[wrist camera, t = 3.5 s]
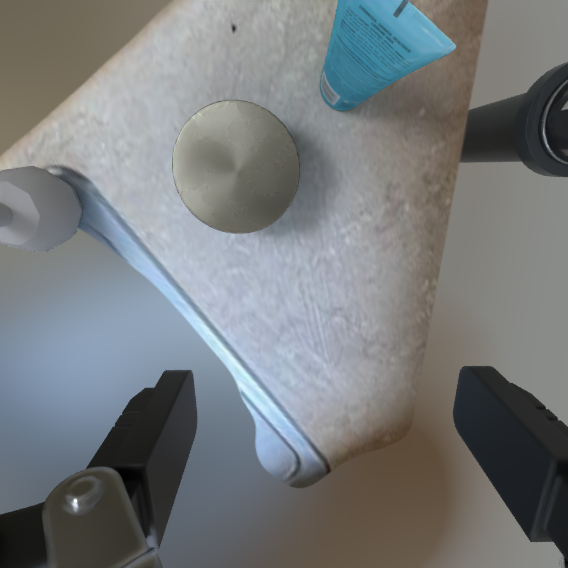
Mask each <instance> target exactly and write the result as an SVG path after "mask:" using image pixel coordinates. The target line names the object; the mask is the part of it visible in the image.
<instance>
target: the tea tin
mask: <svg viewBox="0 0 568 568" xmlns="http://www.w3.org/2000/svg"><path fill="white" fill-rule="evenodd" d="M172 169H173V177H174V181H175V185H176V188H177V191H178V193H179V195H180V197H181V199H182V201H183V202H184V204H185V205H186V207H187V208H188V209H189V210H190V211H191V213H192V214H193V215H194V216H196V217H197V218H198V219H199V220H200V221H202V222H203V223H205V224H206V225H208V226H210V227H212V228H214V229H216V230H219V231H223V232H227V233H234V234H244V233H251V232H255V231H258V230H261V229H263V228H265V227H267V226H269V225H270V224H272V223H274V222H275V221H276V220H277V219H279V218H280V217H281V216H282V214H283V213H284V212H285V211H286V210H287V208H288V207H289V206H290V204H291V202H292V200H293V198H294V196H295V193H296V191H297V187H298V183H299V175H300V164H299V157H298V153H297V149H296V146H295V143H294V141H293V139H292V137H291V135H290V133H289V131H288V130H287V129H286V127H285V126H284V124H283V123H282V122H281V121H280V120H279V119H278V118H277V117H276V116H275V115H273V114H272V113H271V112H270V111H268V110H266V109H265V108H263V107H261V106H259V105H256V104H254V103H251V102H247V101H241V100H225V101H219V102H216V103H213V104H210V105H208V106H206V107H204V108H202V109H201V110H199V111H198V112H197V113H195V114H194V115H193V116H192V117H191V118H190V119H189V120H188V121H187V123H186V124H185V125H184V127H183V128H182V130H181V132H180V133H179V136H178V138H177V140H176V143H175V147H174V151H173V158H172Z"/></svg>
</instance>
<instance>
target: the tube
mask: <svg viewBox="0 0 568 568" xmlns="http://www.w3.org/2000/svg"><path fill="white" fill-rule="evenodd" d="M455 48H456V45H455V44H454V42H453V41H452V40H450V39H449V38H448V37H447V36H446V35H445V34H444V33H443V32H442V31H441V30H440V29H439V28H438V27H437V26H436V25H435V24H434V23H433V22H432V21H430V20H429V19H428V18H427V17H426V16H425V15H424V14H423V13H422V12H421V11H419V10H418V9H417V8H416V7H415V6H414V5H413V4H412V3H410V2H409V1H408V0H338V3H337V9H336V15H335V20H334V24H333V29H332V34H331V38H330V42H329V47H328V51H327V55H326V59H325V63H324V67H323V71H322V75H321V80H320V90H321V94H322V97H323V99H324V101H325V102H326V103H327V104H328V105H329V106H330V107H331V108H333V109H335V110H340V111H346V110H350V109H352V108H354V107H356V106H357V105H359V104H360V103H362V102H363V101H365V100H366V99H368V98H369V97H371V96H372V95H374V94H375V93H377V92H378V91H380V90H382V89H383V88H385V87H386V86H388V85H390V84H391V83H393V82H395V81H397V80H398V79H400V78H402V77H404V76H406V75H407V74H409V73H411V72H413V71H415V70H417V69H419V68H421V67H423V66H425V65H427V64H429V63H431V62H433V61H435V60H437V59H439V58H442V57H444V56H446V55H448V54H449V53H450V52H452V51H453V50H454V49H455Z"/></svg>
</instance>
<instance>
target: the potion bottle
mask: <svg viewBox="0 0 568 568" xmlns="http://www.w3.org/2000/svg"><path fill="white" fill-rule="evenodd" d="M82 210H83V207H82V205H81V203H80V200H79V198H78V196H77V194H76V192H75V190H74V188H73V187H72V186H70V185H69V184H67V183H66V182H64V181H62V180H61V179H59V178H57V177H56V176H54V175H52V174H51V173H49V172H47V171H45V170H43V169H40V168H37V167H35V166H29V167H22V168H14V169H7V170H2V171H0V243H2V244H4V245H6V246H11V247H16V248H20V249H25V250H30V251H49V250H51V249H53V248H54V247H56V246H58V245H60V244H61V243H63V242H65V241H67V240H68V239H70V238H71V237H72V236H73V235H74V234H75V233H76V231H77V228H78V227H79V223H80V219H81V214H82Z"/></svg>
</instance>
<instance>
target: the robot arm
mask: <svg viewBox="0 0 568 568" xmlns="http://www.w3.org/2000/svg"><path fill="white" fill-rule="evenodd" d="M538 133H539V139H540V143H541V146H542V148H543V150H544V151H545V153H546V154H547V155H548V156H549V157H550V158H551V159H553V160H554V161H556V162H558V163H561V164H565V165H568V78H567V79H565V80H564V81H563V82H561V83H560V84H559V85H558V86H557V87H556V88H555V89H554V91H553V92H552V93H551V94H550V96H549V97H548V99H547V101H546V102H545V104H544V106H543V109H542V111H541V115H540V119H539V126H538ZM453 418H454V423H455V427H456V429H457V431H458V433H459V435H460V436H461V437H462V439H463V441H464V442H465V444H466V445H467V447H468V448H469V450H470V451H471V452H472V454H473V456H474V457H475V458H476V460H477V461H478V463H479V465H480V466H481V468H482V469H483V471H484V472H485V474H486V475H487V477H488V478H489V480H490V481H491V483H492V484H493V486H494V487H495V489H496V490H497V492H498V493H499V495H500V496H501V498H502V499H503V501H504V502H505V504H506V505H507V507H508V508H509V510H510V511H511V513H512V514H513V516H514V517H515V519H516V520H517V522H518V523H519V525H520V526H521V528H522V529H523V531H524V532H525V534H526V535H527V537H528V538H529V540H530V542H554V543H555V545H556V546H557V547H558V549H559V550H560V551H561V553H562V555H561V558H560V562H559V568H568V427H567V426H566V425H565V424H564V423H563V422H562V421H558V418H557V417H556V416H555V415H554V414H553V413H552V412H551V411H550V410H549V409H546V407H545V406H544V405H543V404H542V403H541V402H540V401H539V400H538V399H536V398H535V397H534V396H533V395H532V394H530V393H529V392H527V391H525V390H524V389H522V388H520V387H518V386H517V385H515V384H513V383H509V382H508V381H507V380H506V379H505V378H504V377H503V376H502V375H501V374H500V373H499V372H498V371H497V370H496V369H495V368H493V367H491V366H464V367H462V369H461V370H460V373H459V379H458V385H457V391H456V396H455V402H454V409H453ZM196 429H197V407H196V397H195V388H194V379H193V373H192V371H191V370H166V371H164V372H163V374H162V376H161V377H160V379H159V381H158V383H157V384H156V386H155V388H145V389H143V390H142V391H141V392H140V393H138V394H137V395H136V396H134V397H133V398H132V399H131V400H130V402H129V403H128V405H127V406H126V408H125V409H124V411H123V412H122V415H121V416H120V417H119V418H118V420H117V422H116V423H115V427H113V428H112V429H111V431H110V432H109V434H108V436H107V437H106V439H105V440H104V442H103V443H102V445H101V446H100V448H99V449H98V451H97V453H96V454H95V456H94V457H93V459H92V460H91V462H90V463H89V465H88V466H87V468H86V469H85V470H82V471H80V472H77V473H75V474H74V475H71V476H70V477H68V478H67V479H65V480H64V481H62V482H61V483H60V484H59V485H58V486H56V487H55V488H54V489H53V491H52V492H51V493H50V494H49V496H48V497H47V499H46V500H45V502H43V503H40V504H37V505H34V506H30V507H27V508H23V509H19V510H16V511H12V512H8V513H5V514H2V515H0V568H163V565H162V563H161V561H160V558H159V556H158V554H157V552H156V550H155V549H154V548H159V547H160V544H161V541H162V538H163V535H164V531H165V529H166V525H167V522H168V519H169V516H170V513H171V510H172V507H173V503H174V500H175V497H176V494H177V491H178V488H179V485H180V482H181V479H182V475H183V472H184V469H185V466H186V463H187V460H188V457H189V454H190V450H191V447H192V444H193V441H194V438H195V434H196Z"/></svg>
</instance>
